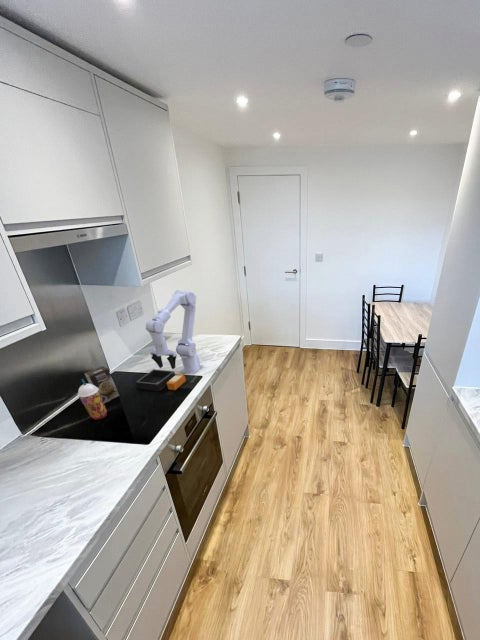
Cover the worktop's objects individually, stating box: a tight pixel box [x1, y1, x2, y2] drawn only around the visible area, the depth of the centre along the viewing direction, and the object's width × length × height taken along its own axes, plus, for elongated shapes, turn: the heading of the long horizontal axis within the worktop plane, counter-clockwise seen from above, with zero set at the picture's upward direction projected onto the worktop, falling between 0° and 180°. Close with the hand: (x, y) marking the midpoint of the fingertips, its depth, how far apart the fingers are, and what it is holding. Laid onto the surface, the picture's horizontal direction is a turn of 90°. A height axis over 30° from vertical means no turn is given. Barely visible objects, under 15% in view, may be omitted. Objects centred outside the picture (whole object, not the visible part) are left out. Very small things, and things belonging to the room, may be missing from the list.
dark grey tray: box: [135, 368, 176, 392], centre depth 174 cm, size 15×14×4 cm
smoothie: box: [77, 378, 108, 421], centre depth 146 cm, size 8×8×20 cm
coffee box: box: [84, 365, 120, 405], centre depth 160 cm, size 9×6×16 cm
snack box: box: [166, 373, 187, 391], centre depth 171 cm, size 10×4×4 cm, turn 164°
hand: (167, 367), depth 170 cm, fingers open, 7 cm apart
